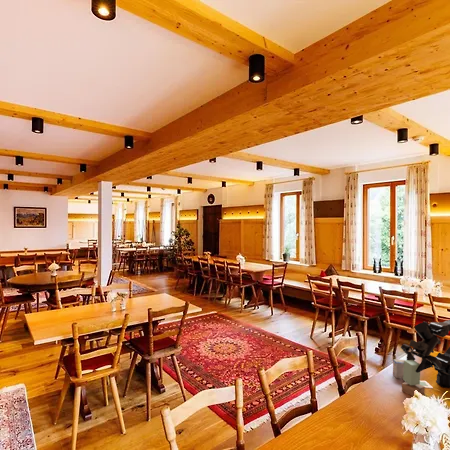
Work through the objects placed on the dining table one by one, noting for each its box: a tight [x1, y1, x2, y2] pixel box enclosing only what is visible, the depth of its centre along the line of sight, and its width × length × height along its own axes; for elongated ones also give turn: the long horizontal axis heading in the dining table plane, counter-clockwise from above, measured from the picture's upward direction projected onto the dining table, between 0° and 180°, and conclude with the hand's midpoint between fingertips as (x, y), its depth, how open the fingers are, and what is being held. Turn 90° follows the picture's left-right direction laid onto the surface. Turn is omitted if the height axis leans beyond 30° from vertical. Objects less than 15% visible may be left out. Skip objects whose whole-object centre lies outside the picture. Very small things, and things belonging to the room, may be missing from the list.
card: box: [420, 380, 434, 389], centre depth 163 cm, size 7×7×1 cm
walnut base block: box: [401, 381, 426, 397], centre depth 155 cm, size 7×7×4 cm
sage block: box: [402, 359, 421, 385], centre depth 155 cm, size 5×5×10 cm
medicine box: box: [392, 358, 405, 380], centre depth 171 cm, size 8×4×9 cm, turn 84°
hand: (411, 369), depth 154 cm, fingers closed on sage block, 5 cm apart
